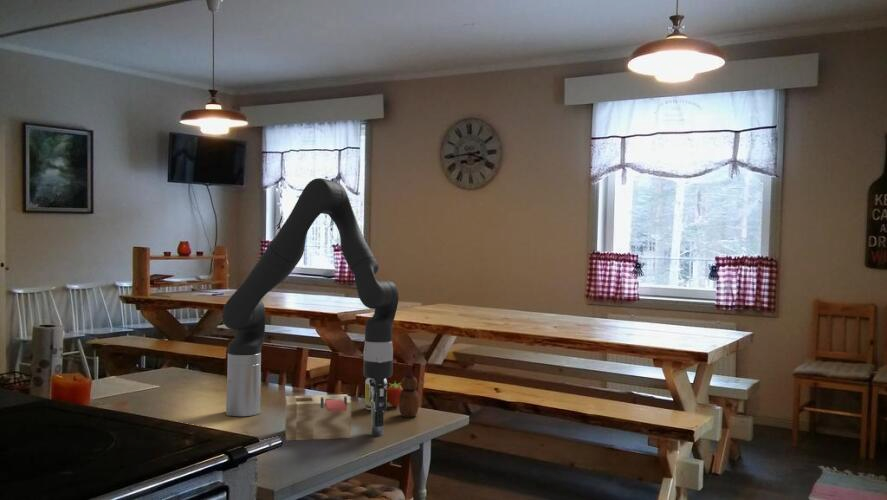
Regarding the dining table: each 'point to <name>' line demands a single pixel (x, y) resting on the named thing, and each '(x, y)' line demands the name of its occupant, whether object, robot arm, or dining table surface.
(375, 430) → the steel pin
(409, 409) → the wooden figurine
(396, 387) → the fruit
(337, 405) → the keeper tab
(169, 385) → the dining table surface
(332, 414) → the hitch block
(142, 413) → the dining table surface
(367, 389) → the pill bottle
